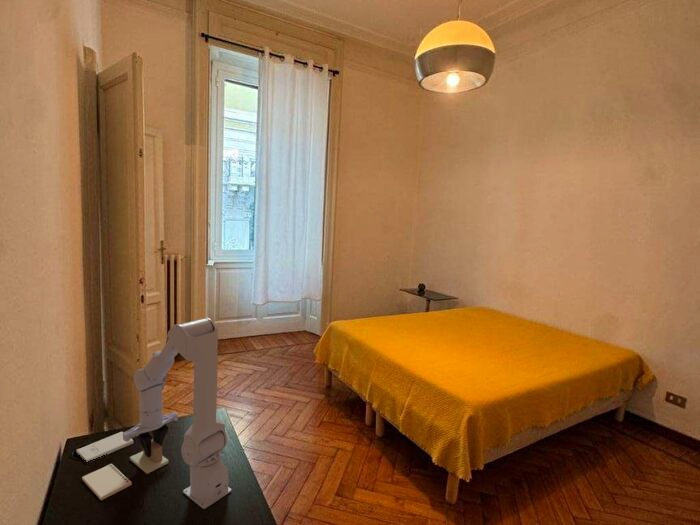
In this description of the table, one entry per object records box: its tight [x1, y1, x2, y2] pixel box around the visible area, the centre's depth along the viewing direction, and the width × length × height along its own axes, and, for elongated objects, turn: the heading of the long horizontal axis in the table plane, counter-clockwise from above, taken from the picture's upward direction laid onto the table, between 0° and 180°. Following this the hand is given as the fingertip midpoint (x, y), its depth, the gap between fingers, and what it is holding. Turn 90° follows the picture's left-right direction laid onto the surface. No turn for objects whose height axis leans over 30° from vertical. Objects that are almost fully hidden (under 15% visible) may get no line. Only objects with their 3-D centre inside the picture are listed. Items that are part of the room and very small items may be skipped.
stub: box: [129, 438, 169, 475], centre depth 106 cm, size 10×6×5 cm, turn 54°
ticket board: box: [81, 463, 132, 501], centre depth 98 cm, size 12×7×1 cm, turn 54°
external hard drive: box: [75, 431, 134, 463], centre depth 113 cm, size 2×8×12 cm
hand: (152, 453), depth 107 cm, fingers closed on stub, 2 cm apart
